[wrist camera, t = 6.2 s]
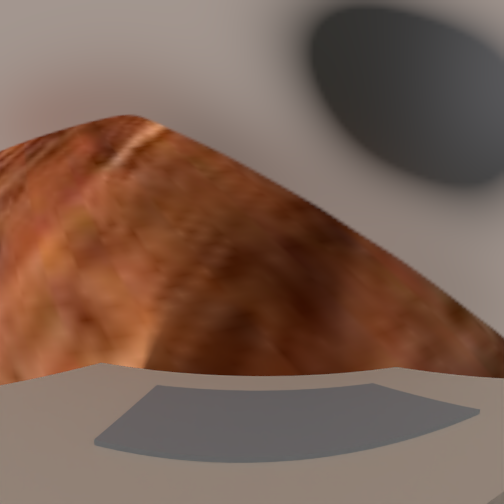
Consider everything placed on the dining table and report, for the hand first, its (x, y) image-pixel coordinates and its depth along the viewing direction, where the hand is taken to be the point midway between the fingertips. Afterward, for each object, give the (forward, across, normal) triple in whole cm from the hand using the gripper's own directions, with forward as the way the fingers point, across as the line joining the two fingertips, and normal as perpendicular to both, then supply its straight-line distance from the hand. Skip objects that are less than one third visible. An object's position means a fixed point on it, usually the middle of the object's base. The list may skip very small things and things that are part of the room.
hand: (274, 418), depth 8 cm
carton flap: (-1, 0, -1) cm, 1 cm away
